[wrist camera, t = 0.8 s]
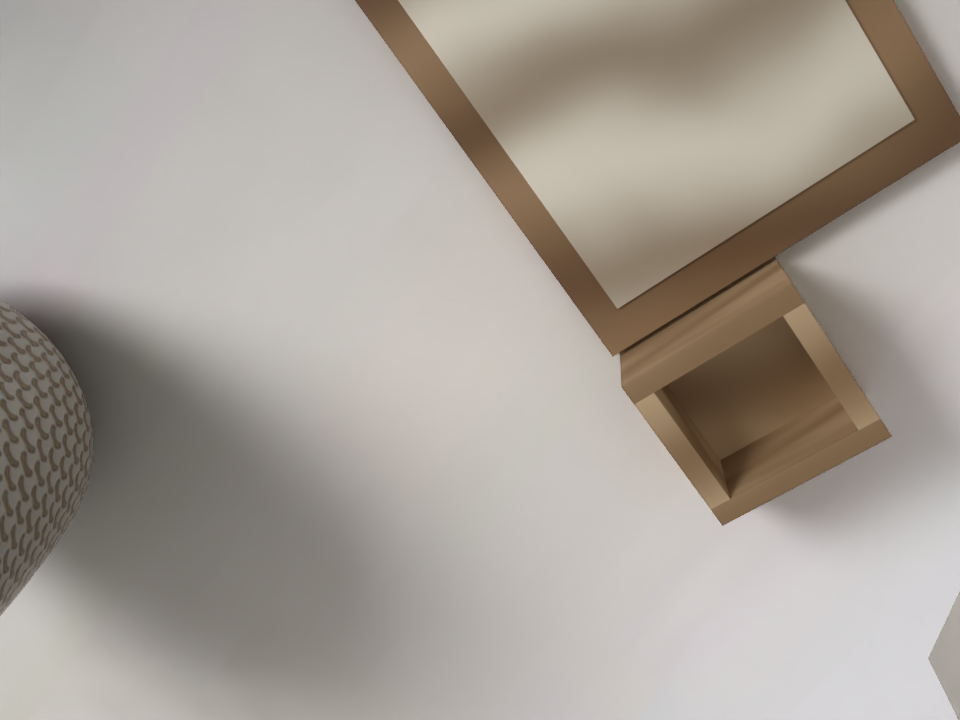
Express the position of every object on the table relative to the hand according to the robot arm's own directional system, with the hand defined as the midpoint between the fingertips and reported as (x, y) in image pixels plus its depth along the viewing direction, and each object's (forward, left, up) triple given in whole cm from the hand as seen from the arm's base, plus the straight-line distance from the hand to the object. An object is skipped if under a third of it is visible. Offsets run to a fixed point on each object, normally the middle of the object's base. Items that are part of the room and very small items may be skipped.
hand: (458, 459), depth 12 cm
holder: (+11, +1, -23) cm, 25 cm away
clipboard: (-1, +5, -23) cm, 24 cm away
